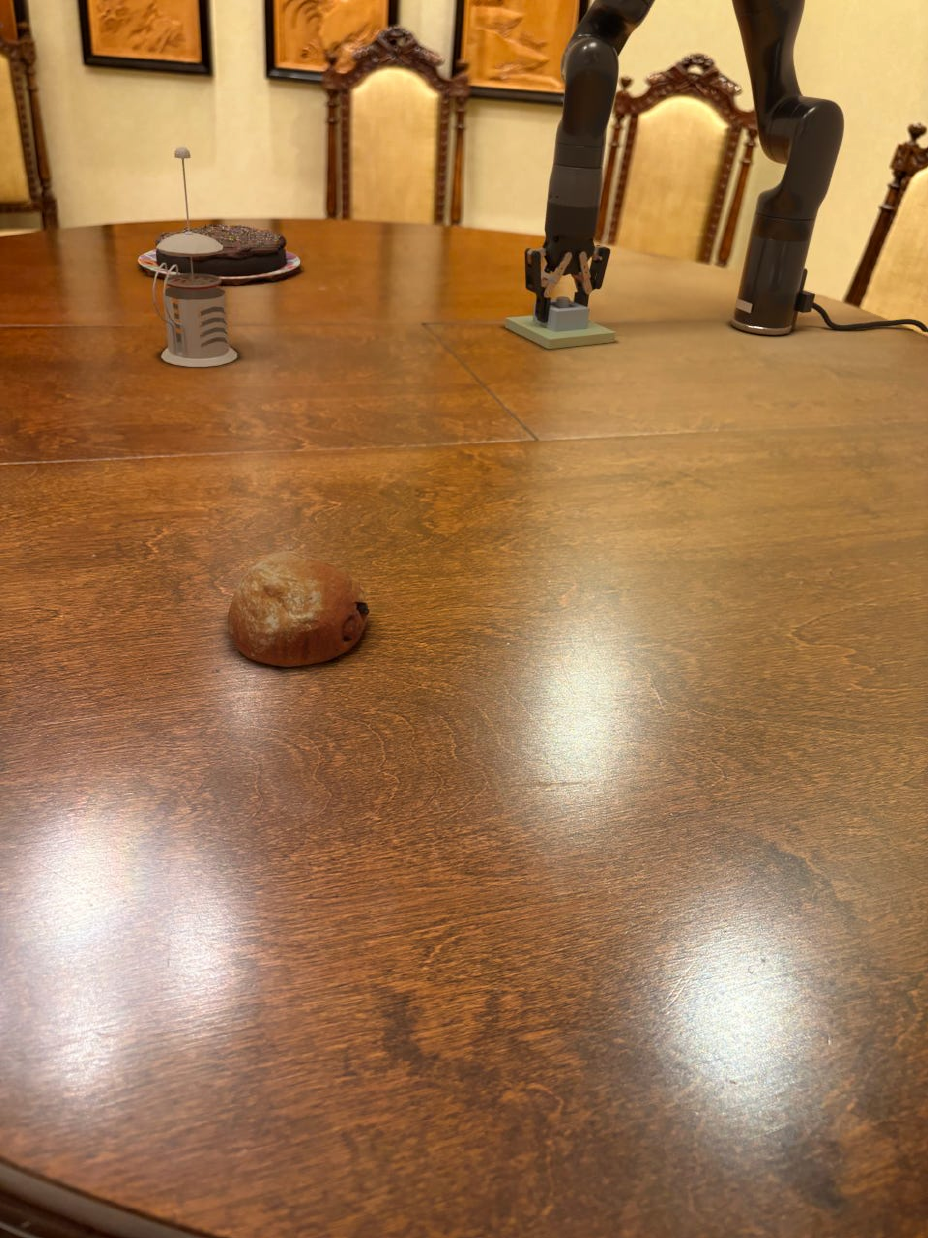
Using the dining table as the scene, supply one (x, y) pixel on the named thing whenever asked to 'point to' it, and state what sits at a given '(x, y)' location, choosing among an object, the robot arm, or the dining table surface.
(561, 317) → the gray rectangular block
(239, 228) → the chocolate cake
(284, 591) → the bread roll
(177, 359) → the french press
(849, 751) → the dining table surface
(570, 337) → the green peg base
